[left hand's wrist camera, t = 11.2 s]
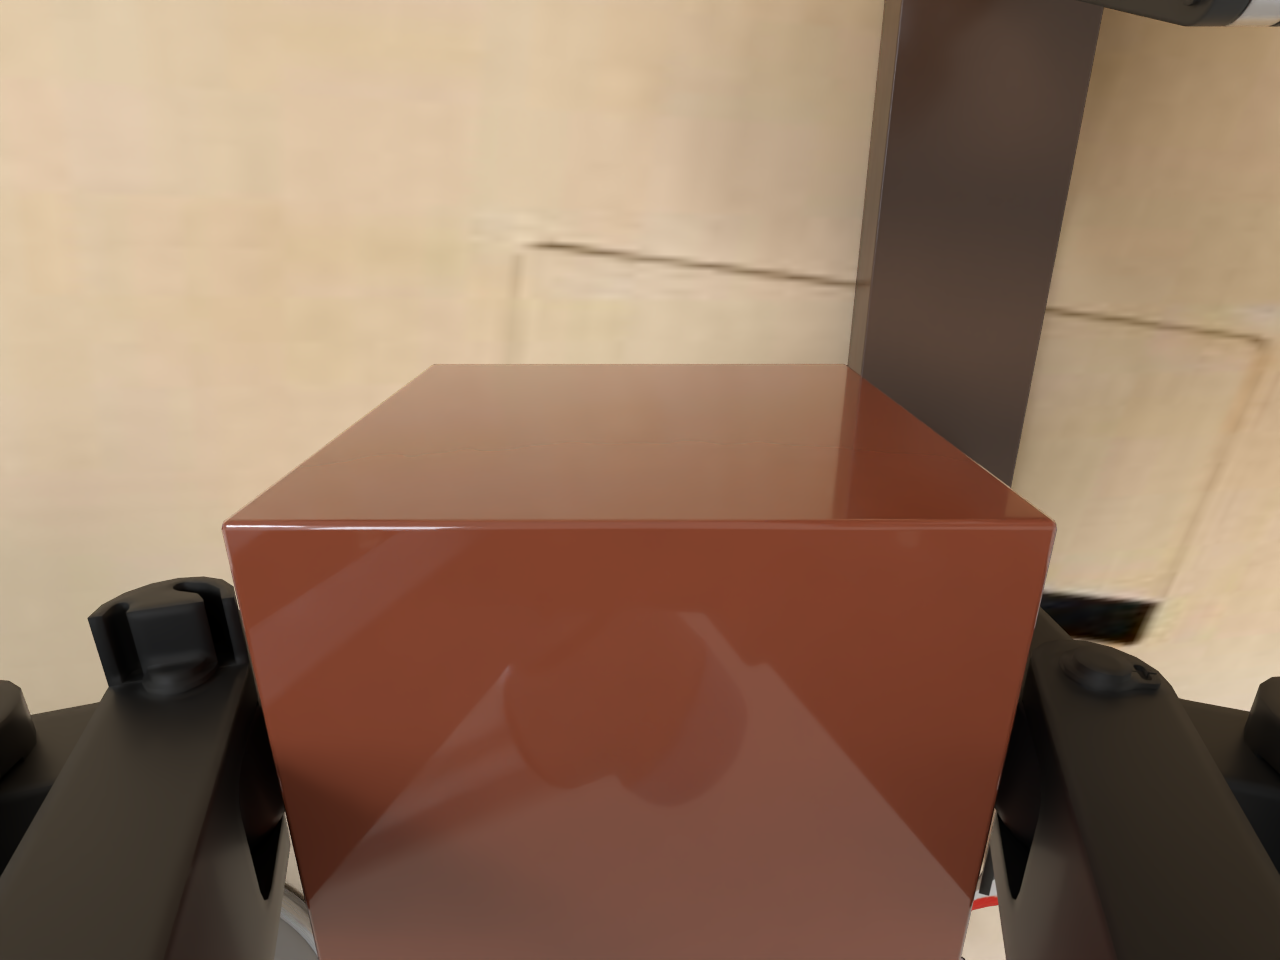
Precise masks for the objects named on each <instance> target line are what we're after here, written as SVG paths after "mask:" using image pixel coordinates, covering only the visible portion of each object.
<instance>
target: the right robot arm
mask: <svg viewBox="0 0 1280 960" xmlns="http://www.w3.org/2000/svg"><path fill="white" fill-rule="evenodd" d="M1077 1H1081V2H1085V3H1089V4H1094V5H1098V6H1102V7H1106V8H1110V9H1115V10H1119V11H1123V12H1127V13H1131V14H1136V15H1140V16H1144V17H1148V18H1152V19H1157V20H1161V21H1165V22H1169V23H1173V24H1178V25H1182V26H1280V0H1077Z"/></svg>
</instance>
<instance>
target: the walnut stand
mask: <svg viewBox="0 0 1280 960" xmlns="http://www.w3.org/2000/svg"><path fill="white" fill-rule="evenodd" d="M1103 8H1104V7H1102V6H1098V5H1094V4H1089V3H1085V2H1081V1H1077V0H885V4H884V14H883V24H882V34H881V44H880V54H879V63H878V73H877V83H876V93H875V103H874V113H873V122H872V132H871V142H870V152H869V162H868V172H867V181H866V191H865V201H864V211H863V221H862V231H861V240H860V250H859V260H858V270H857V280H856V290H855V300H854V309H853V319H852V329H851V339H850V349H849V359H848V366H849V367H850V368H851V369H853V370H854V371H855V372H857V373H858V374H859V375H861V376H862V377H863V378H865V379H866V380H867V381H869V382H870V383H871V384H873V385H874V386H875V387H877V388H878V389H879V390H881V391H882V392H883V393H885V394H886V395H887V396H889V397H890V398H891V399H893V400H894V401H895V402H897V403H898V404H899V405H901V406H902V407H903V408H905V409H906V410H907V411H909V412H910V413H911V414H913V415H914V416H915V417H917V418H918V419H919V420H921V421H922V422H923V423H925V424H926V425H927V426H929V427H930V428H931V429H933V430H934V431H935V432H937V433H938V434H939V435H941V436H942V437H943V438H945V439H946V440H947V441H949V442H950V443H951V444H953V445H954V446H955V447H957V448H958V449H959V450H961V451H962V452H963V453H965V454H966V455H967V456H969V457H970V458H971V459H973V460H974V461H975V462H977V463H978V464H979V465H981V466H982V467H983V468H985V469H986V470H987V471H989V472H990V473H991V474H993V475H994V476H995V477H997V478H998V479H1000V480H1001V481H1002V482H1004V483H1005V484H1006V485H1008V486H1009V487H1010V488H1011V484H1012V479H1013V474H1014V469H1015V463H1016V458H1017V453H1018V448H1019V443H1020V438H1021V432H1022V427H1023V422H1024V417H1025V412H1026V406H1027V401H1028V396H1029V391H1030V386H1031V381H1032V375H1033V370H1034V365H1035V360H1036V355H1037V350H1038V344H1039V339H1040V334H1041V329H1042V324H1043V319H1044V313H1045V308H1046V303H1047V298H1048V293H1049V288H1050V282H1051V277H1052V272H1053V267H1054V262H1055V257H1056V251H1057V246H1058V241H1059V236H1060V231H1061V225H1062V220H1063V215H1064V210H1065V205H1066V200H1067V194H1068V189H1069V184H1070V179H1071V174H1072V169H1073V163H1074V158H1075V153H1076V148H1077V143H1078V138H1079V132H1080V127H1081V122H1082V117H1083V112H1084V107H1085V101H1086V96H1087V91H1088V86H1089V81H1090V76H1091V70H1092V65H1093V60H1094V55H1095V50H1096V44H1097V39H1098V34H1099V29H1100V24H1101V19H1102V13H1103Z"/></svg>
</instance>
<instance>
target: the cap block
mask: <svg viewBox="0 0 1280 960" xmlns="http://www.w3.org/2000/svg"><path fill="white" fill-rule="evenodd" d="M1056 531H1057V527H1056V523H1055V521H1054V520H1053V519H1052V518H1050V517H1049V516H1048V515H1046V514H1045V513H1044V512H1042V511H1041V510H1040V509H1038V508H1037V507H1036V506H1034V505H1033V504H1032V503H1030V502H1029V501H1028V500H1026V499H1025V498H1024V497H1022V496H1021V495H1020V494H1018V493H1017V492H1016V491H1014V490H1013V489H1012V488H1010V487H1009V486H1008V485H1006V484H1005V483H1004V482H1002V481H1001V480H1000V479H998V478H997V477H995V476H994V475H993V474H991V473H990V472H989V471H987V470H986V469H985V468H983V467H982V466H981V465H979V464H978V463H977V462H975V461H974V460H973V459H971V458H970V457H969V456H967V455H966V454H965V453H963V452H962V451H961V450H959V449H958V448H957V447H955V446H954V445H953V444H951V443H950V442H949V441H947V440H946V439H945V438H943V437H942V436H941V435H939V434H938V433H937V432H935V431H934V430H933V429H931V428H930V427H929V426H927V425H926V424H925V423H923V422H922V421H921V420H919V419H918V418H917V417H915V416H914V415H913V414H911V413H910V412H909V411H907V410H906V409H905V408H903V407H902V406H901V405H899V404H898V403H897V402H895V401H894V400H893V399H891V398H890V397H889V396H887V395H886V394H885V393H883V392H882V391H881V390H879V389H878V388H877V387H875V386H874V385H873V384H871V383H870V382H869V381H867V380H866V379H865V378H863V377H862V376H861V375H859V374H858V373H857V372H855V371H854V370H853V369H851V368H850V367H849V366H847V365H845V364H434V365H432V366H430V367H429V368H428V369H426V370H425V371H424V372H422V373H421V374H420V375H418V376H417V377H416V378H414V379H413V380H412V381H410V382H409V383H408V384H406V385H405V386H404V387H402V388H401V389H400V390H398V391H397V392H396V393H394V394H393V395H392V396H390V397H389V398H388V399H386V400H385V401H384V402H382V403H381V404H380V405H378V406H377V407H376V408H374V409H373V410H372V411H370V412H369V413H368V414H366V415H365V416H364V417H362V418H361V419H360V420H358V421H357V422H356V423H354V424H353V425H352V426H350V427H349V428H348V429H346V430H345V431H344V432H342V433H341V434H340V435H338V436H337V437H336V438H334V439H333V440H332V441H330V442H329V443H328V444H326V445H325V446H324V447H322V448H321V449H320V450H318V451H317V452H316V453H314V454H313V455H312V456H310V457H309V458H308V459H306V460H305V461H304V462H302V463H301V464H300V465H298V466H297V467H296V468H294V469H293V470H292V471H290V472H289V473H288V474H286V475H285V476H284V477H282V478H281V479H280V480H278V481H277V482H276V483H274V484H273V485H272V486H270V487H269V488H268V489H266V490H265V491H264V492H262V493H261V494H260V495H258V496H257V497H256V498H254V499H253V500H252V501H250V502H249V503H248V504H246V505H245V506H244V507H242V508H241V509H240V510H238V511H237V512H236V513H234V514H233V515H232V516H230V517H229V518H228V519H226V520H225V521H224V522H223V525H222V533H223V537H224V542H225V546H226V551H227V555H228V559H229V564H230V568H231V573H232V577H233V582H234V586H235V591H236V595H237V599H238V604H239V608H240V613H241V617H242V622H243V626H244V631H245V635H246V639H247V644H248V648H249V653H250V657H251V662H252V666H253V671H254V675H255V679H256V684H257V688H258V693H259V697H260V702H261V706H262V711H263V715H264V719H265V724H266V728H267V733H268V737H269V742H270V746H271V750H272V755H273V759H274V764H275V768H276V773H277V777H278V782H279V786H280V790H281V795H282V799H283V804H284V808H285V813H286V817H287V822H288V826H289V830H290V835H291V839H292V844H293V848H294V853H295V857H296V862H297V866H298V870H299V875H300V879H301V884H302V888H303V893H304V897H305V902H306V906H307V910H308V915H309V919H310V924H311V928H312V933H313V937H314V942H315V946H316V950H317V955H318V959H319V960H960V959H961V955H962V950H963V946H964V941H965V937H966V933H967V928H968V924H969V919H970V915H971V910H972V906H973V901H974V897H975V892H976V888H977V883H978V879H979V875H980V870H981V866H982V861H983V857H984V852H985V848H986V843H987V839H988V834H989V830H990V825H991V821H992V817H993V812H994V808H995V803H996V799H997V794H998V790H999V785H1000V781H1001V776H1002V772H1003V768H1004V763H1005V759H1006V754H1007V750H1008V745H1009V741H1010V736H1011V732H1012V727H1013V723H1014V718H1015V714H1016V710H1017V705H1018V701H1019V696H1020V692H1021V687H1022V683H1023V678H1024V674H1025V669H1026V665H1027V661H1028V656H1029V652H1030V647H1031V643H1032V638H1033V634H1034V629H1035V625H1036V620H1037V616H1038V611H1039V607H1040V603H1041V598H1042V594H1043V589H1044V585H1045V580H1046V576H1047V571H1048V567H1049V562H1050V558H1051V553H1052V549H1053V545H1054V540H1055V536H1056Z"/></svg>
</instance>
